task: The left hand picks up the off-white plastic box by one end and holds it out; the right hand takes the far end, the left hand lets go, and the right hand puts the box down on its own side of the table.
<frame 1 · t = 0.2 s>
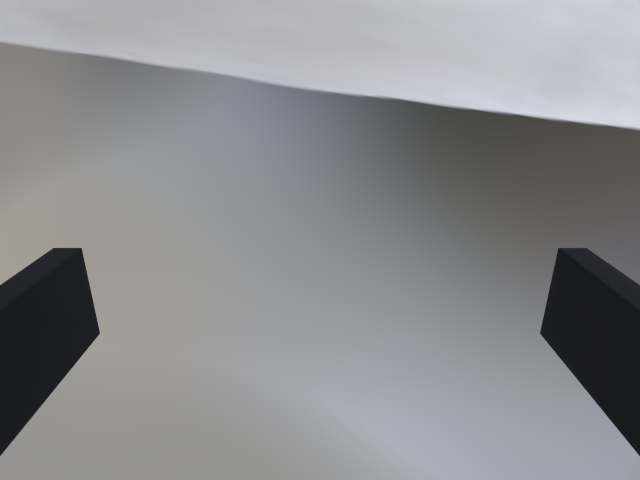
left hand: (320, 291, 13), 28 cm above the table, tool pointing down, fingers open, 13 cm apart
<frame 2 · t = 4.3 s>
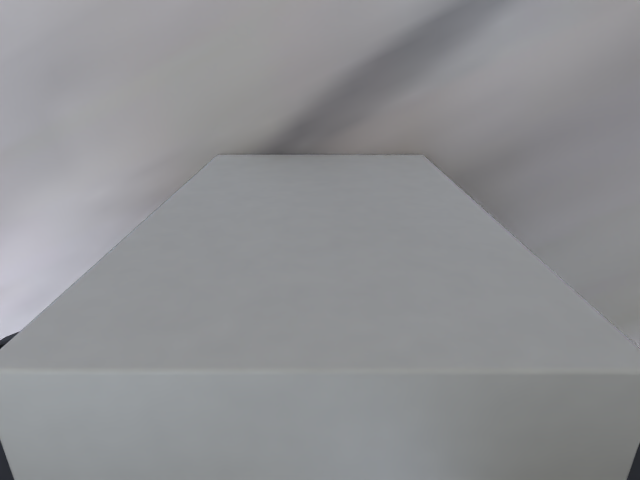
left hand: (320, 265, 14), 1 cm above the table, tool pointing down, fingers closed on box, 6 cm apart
box: (320, 438, 18), on the table, touching left hand
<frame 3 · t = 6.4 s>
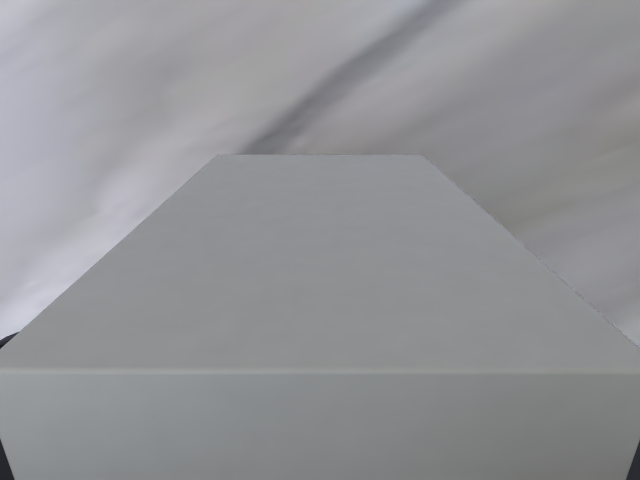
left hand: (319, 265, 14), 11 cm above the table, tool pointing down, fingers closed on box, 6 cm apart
box: (320, 438, 18), point 10 cm above the table, touching left hand
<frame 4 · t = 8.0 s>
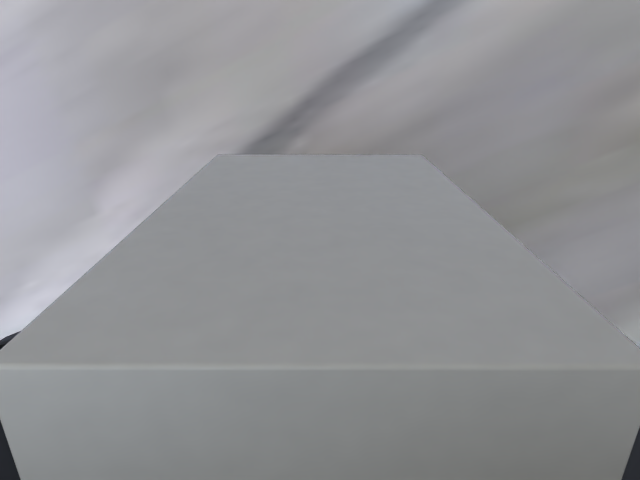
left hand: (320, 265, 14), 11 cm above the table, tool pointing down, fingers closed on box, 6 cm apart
box: (319, 437, 18), point 10 cm above the table, touching left hand, right hand
when the left hand's fingers open (11 cm above the table, at t = 8.9 s): box stays where it is, held by the right hand.
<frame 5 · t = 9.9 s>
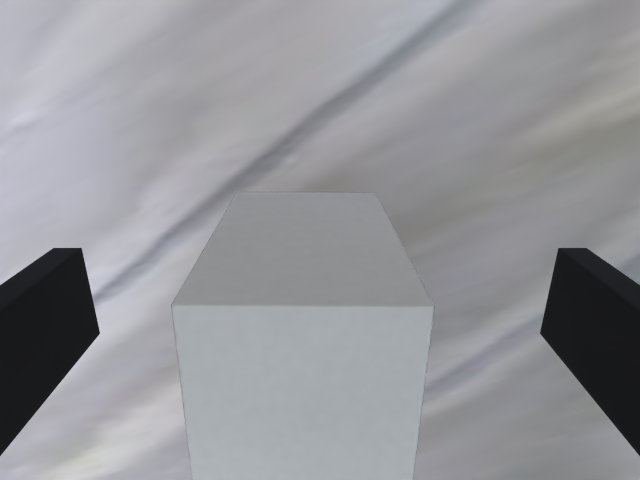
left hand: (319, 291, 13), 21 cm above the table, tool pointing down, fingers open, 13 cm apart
box: (305, 393, 24), point 13 cm above the table, touching right hand
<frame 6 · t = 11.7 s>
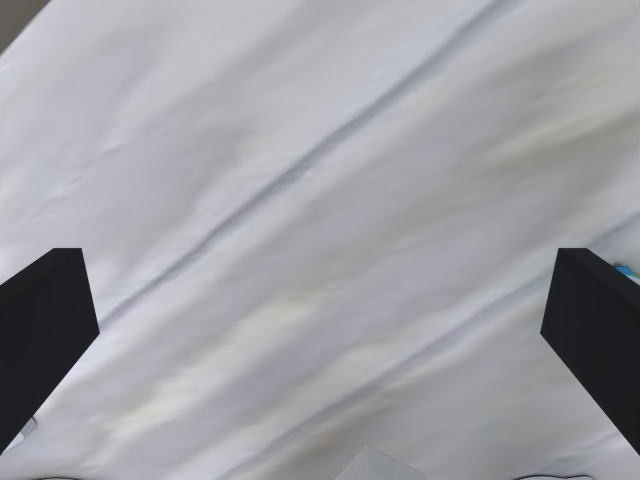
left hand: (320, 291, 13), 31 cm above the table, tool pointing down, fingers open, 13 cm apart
when the right hand's fingers open (7 cm above the table, at t = 15.7 s): box stays where it is, point 1 cm above the table.
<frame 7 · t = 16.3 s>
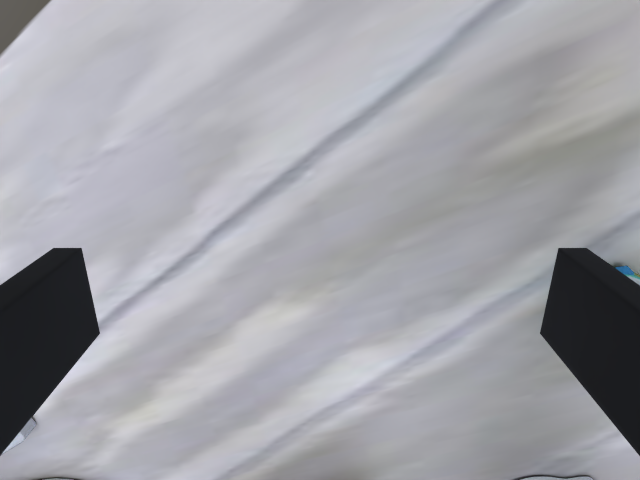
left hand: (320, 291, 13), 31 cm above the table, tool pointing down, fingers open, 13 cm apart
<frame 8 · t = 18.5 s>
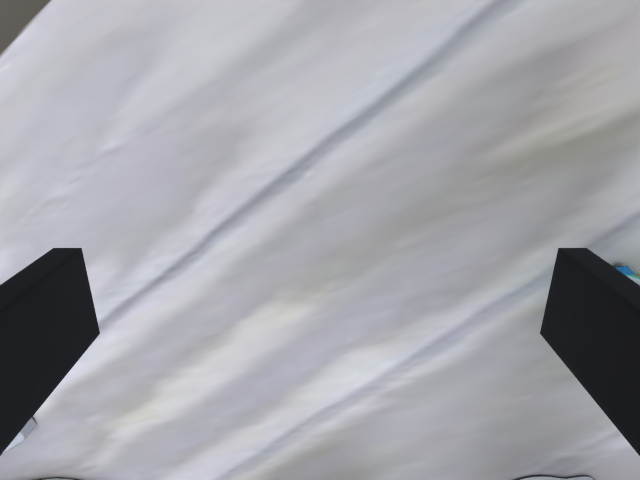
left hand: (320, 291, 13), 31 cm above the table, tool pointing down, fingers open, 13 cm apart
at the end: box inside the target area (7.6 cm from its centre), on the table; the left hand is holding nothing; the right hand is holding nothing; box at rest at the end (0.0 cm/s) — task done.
